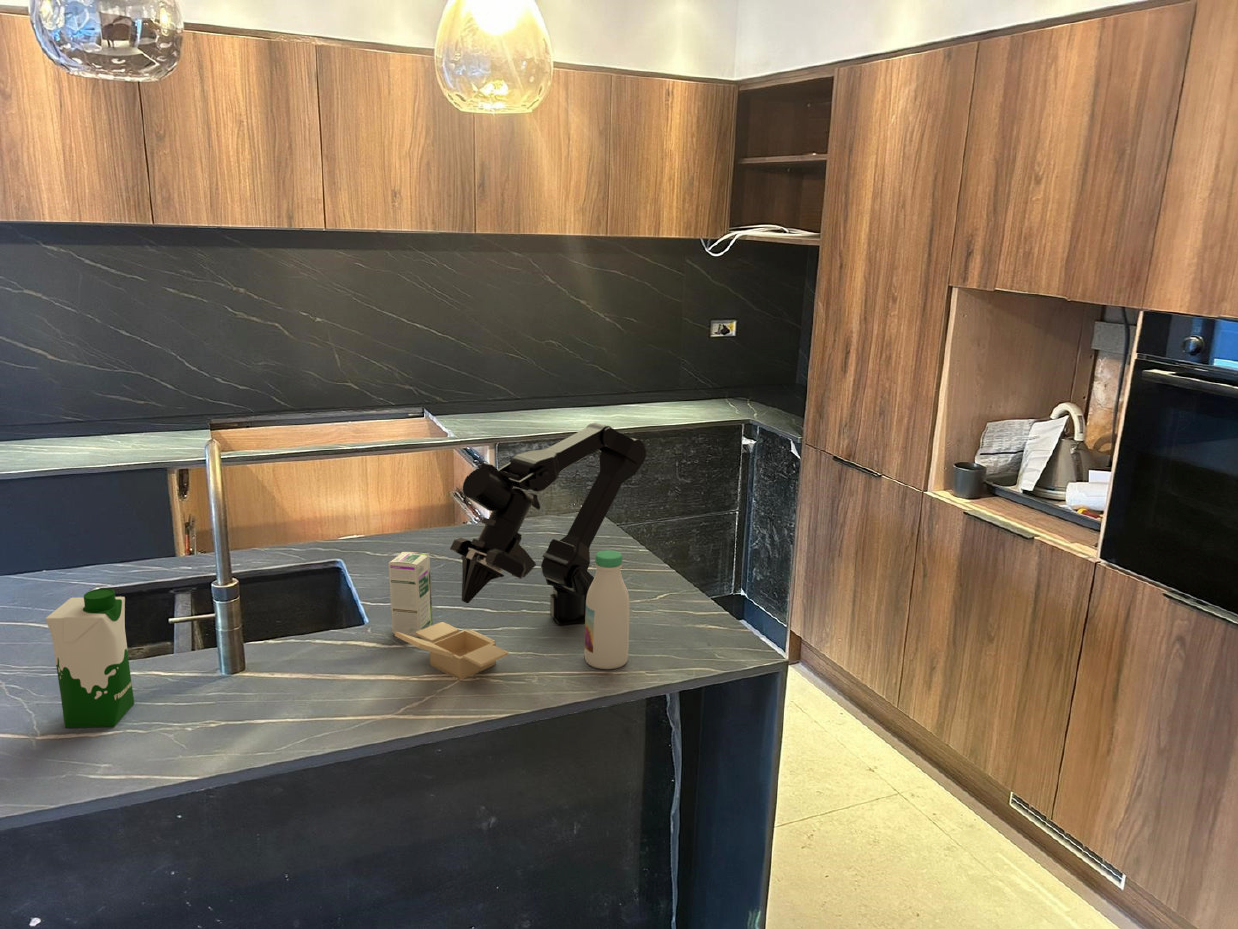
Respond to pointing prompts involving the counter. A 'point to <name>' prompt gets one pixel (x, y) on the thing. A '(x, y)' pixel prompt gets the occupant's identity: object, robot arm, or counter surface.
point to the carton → (461, 650)
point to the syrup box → (410, 593)
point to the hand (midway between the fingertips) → (464, 602)
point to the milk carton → (92, 659)
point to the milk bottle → (607, 614)
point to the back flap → (424, 644)
